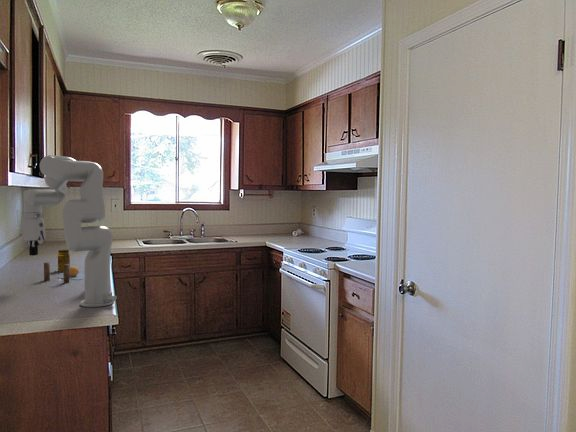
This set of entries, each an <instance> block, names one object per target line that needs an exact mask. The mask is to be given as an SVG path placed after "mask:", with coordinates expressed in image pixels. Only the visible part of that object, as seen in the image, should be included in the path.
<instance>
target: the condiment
mask: <svg viewBox="0 0 576 432" xmlns="http://www.w3.org/2000/svg"><path fill="white" fill-rule="evenodd" d="M70 257H71V255H70V250H69V249H58V255H57V271H59V272H60V273H63V265H64V264H69V268H70V267H71V265H70V264H71V263H70V262H71V258H70Z"/></svg>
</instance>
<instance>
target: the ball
mask: <svg viewBox="0 0 576 432" xmlns="http://www.w3.org/2000/svg"><path fill="white" fill-rule="evenodd" d="M79 272H80V270H79V268H78V267H77V266H74V265H72V266H70V268H69V276H71V277H75V276H77V275H78V273H79Z"/></svg>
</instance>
